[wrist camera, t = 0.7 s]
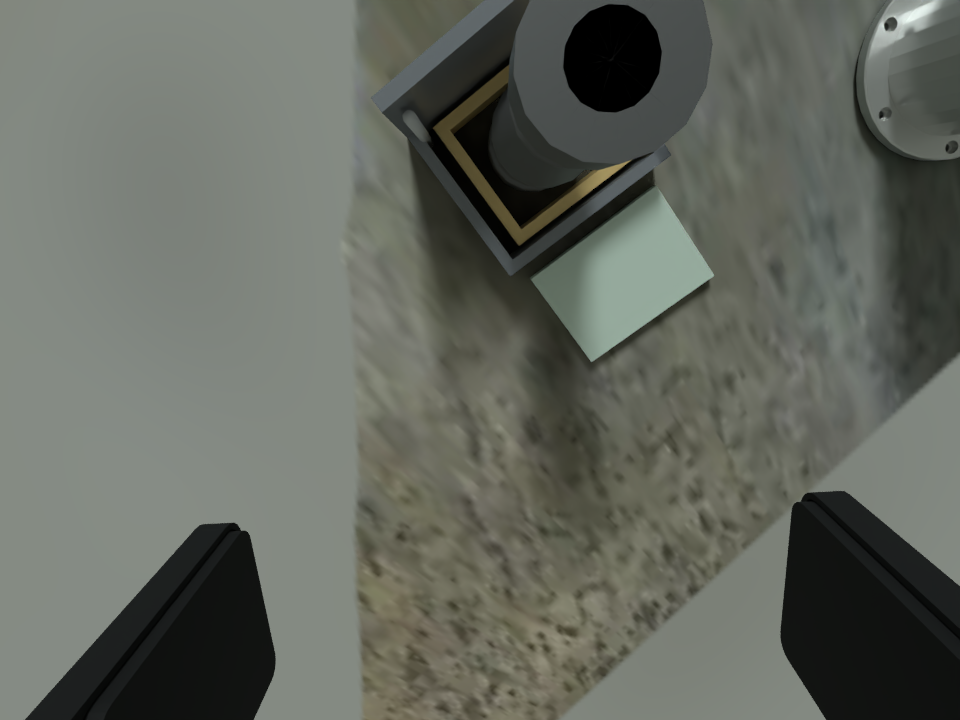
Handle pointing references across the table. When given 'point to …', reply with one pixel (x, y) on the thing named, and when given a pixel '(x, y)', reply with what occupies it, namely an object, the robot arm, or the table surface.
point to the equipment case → (464, 94)
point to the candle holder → (596, 86)
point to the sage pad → (622, 274)
